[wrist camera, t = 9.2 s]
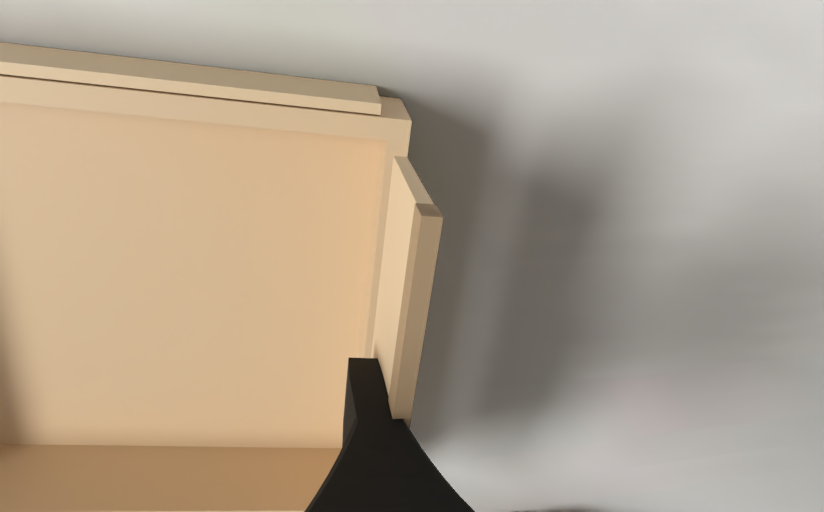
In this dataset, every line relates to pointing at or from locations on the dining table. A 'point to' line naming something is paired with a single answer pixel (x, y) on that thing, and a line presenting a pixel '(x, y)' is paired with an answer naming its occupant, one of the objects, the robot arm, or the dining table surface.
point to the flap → (405, 285)
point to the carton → (182, 279)
